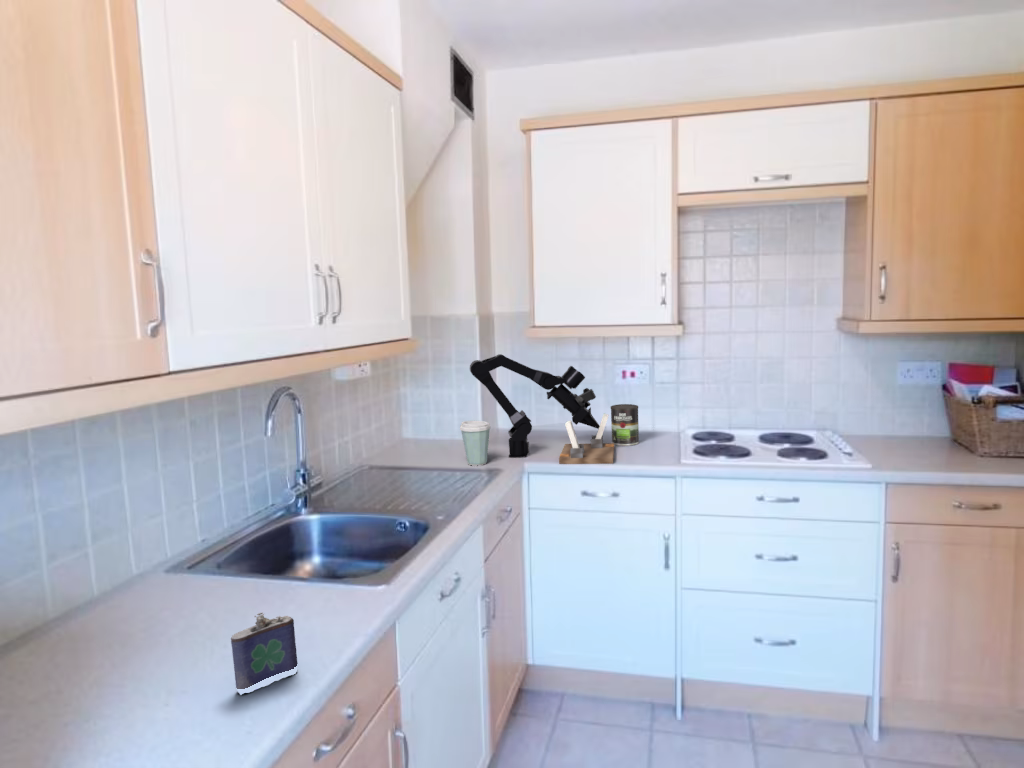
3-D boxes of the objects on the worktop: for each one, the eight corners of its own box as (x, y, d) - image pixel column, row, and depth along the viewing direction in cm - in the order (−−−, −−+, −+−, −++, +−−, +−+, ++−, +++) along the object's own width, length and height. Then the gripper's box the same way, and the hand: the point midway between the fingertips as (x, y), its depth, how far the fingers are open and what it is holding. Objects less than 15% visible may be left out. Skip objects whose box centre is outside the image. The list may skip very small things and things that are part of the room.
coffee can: (637, 446, 240) (636, 408, 239) (609, 445, 244) (608, 408, 242) (641, 440, 250) (640, 403, 248) (614, 439, 253) (613, 403, 252)
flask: (239, 698, 95) (231, 628, 94) (233, 689, 98) (225, 621, 96) (301, 673, 101) (294, 607, 100) (294, 666, 103) (287, 601, 102)
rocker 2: (592, 445, 234) (602, 414, 232) (593, 442, 238) (603, 412, 236) (598, 447, 234) (609, 416, 232) (599, 444, 238) (609, 414, 235)
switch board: (559, 464, 221) (558, 449, 220) (565, 449, 242) (564, 435, 241) (613, 463, 217) (612, 448, 217) (614, 448, 239) (613, 435, 238)
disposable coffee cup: (488, 458, 233) (485, 417, 231) (496, 465, 223) (494, 422, 221) (459, 462, 230) (456, 420, 228) (466, 469, 220) (463, 425, 218)
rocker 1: (574, 456, 221) (564, 424, 220) (575, 454, 225) (565, 422, 224) (581, 455, 221) (571, 422, 220) (582, 452, 225) (572, 420, 224)
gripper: (579, 385, 225) (613, 416, 224) (583, 379, 243) (614, 407, 242) (558, 409, 227) (592, 439, 226) (563, 400, 245) (594, 428, 245)
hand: (598, 427), depth 235 cm, fingers closed, pressing on rocker 2
